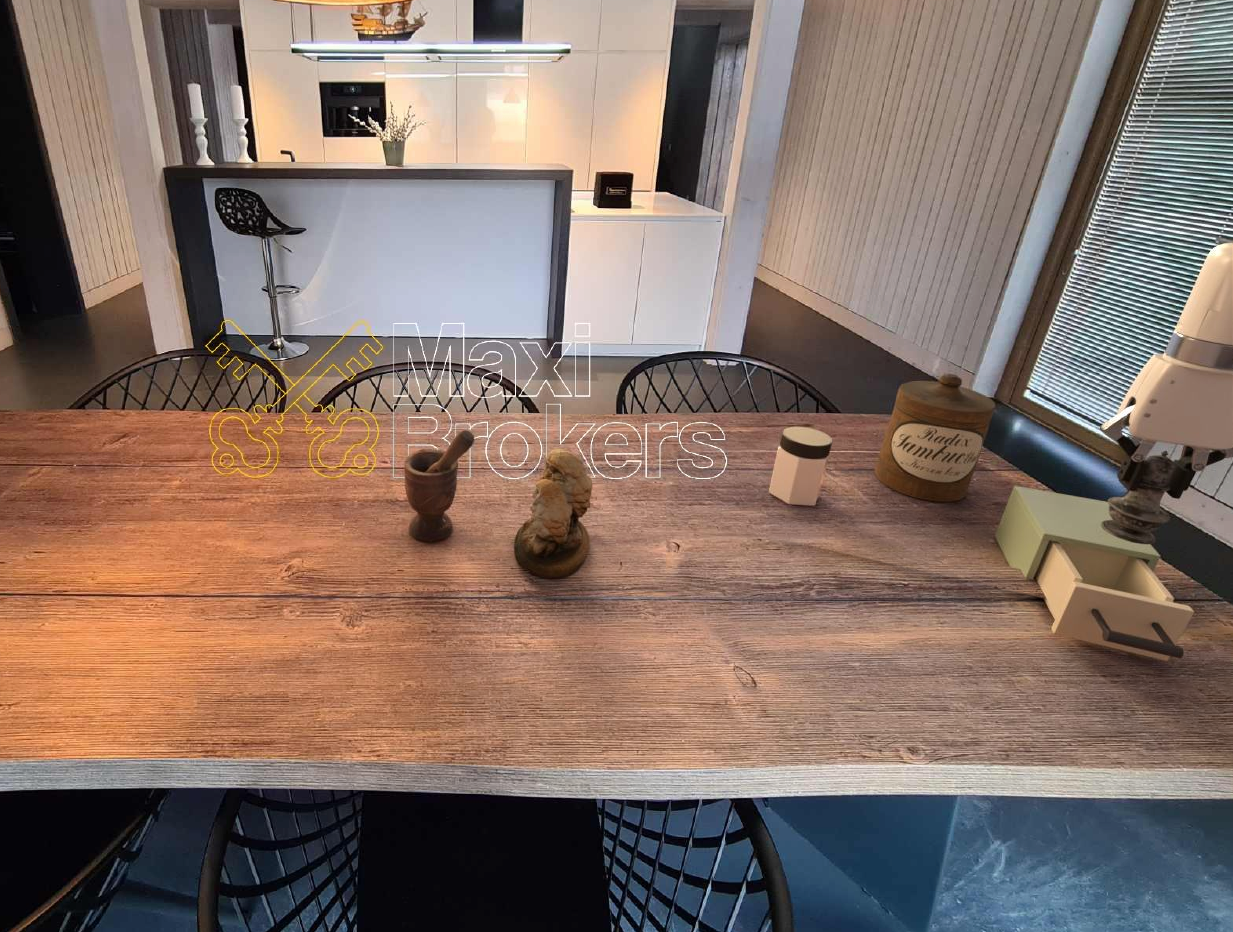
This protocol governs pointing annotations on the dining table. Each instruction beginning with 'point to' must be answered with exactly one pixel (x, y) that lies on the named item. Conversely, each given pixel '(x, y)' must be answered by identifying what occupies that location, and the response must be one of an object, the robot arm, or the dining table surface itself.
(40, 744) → the dining table surface
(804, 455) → the jar
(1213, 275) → the robot arm
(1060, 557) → the drawer
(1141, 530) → the chess piece
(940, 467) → the wooden container
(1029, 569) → the cabinet
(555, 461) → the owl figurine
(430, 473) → the mortar and pestle
